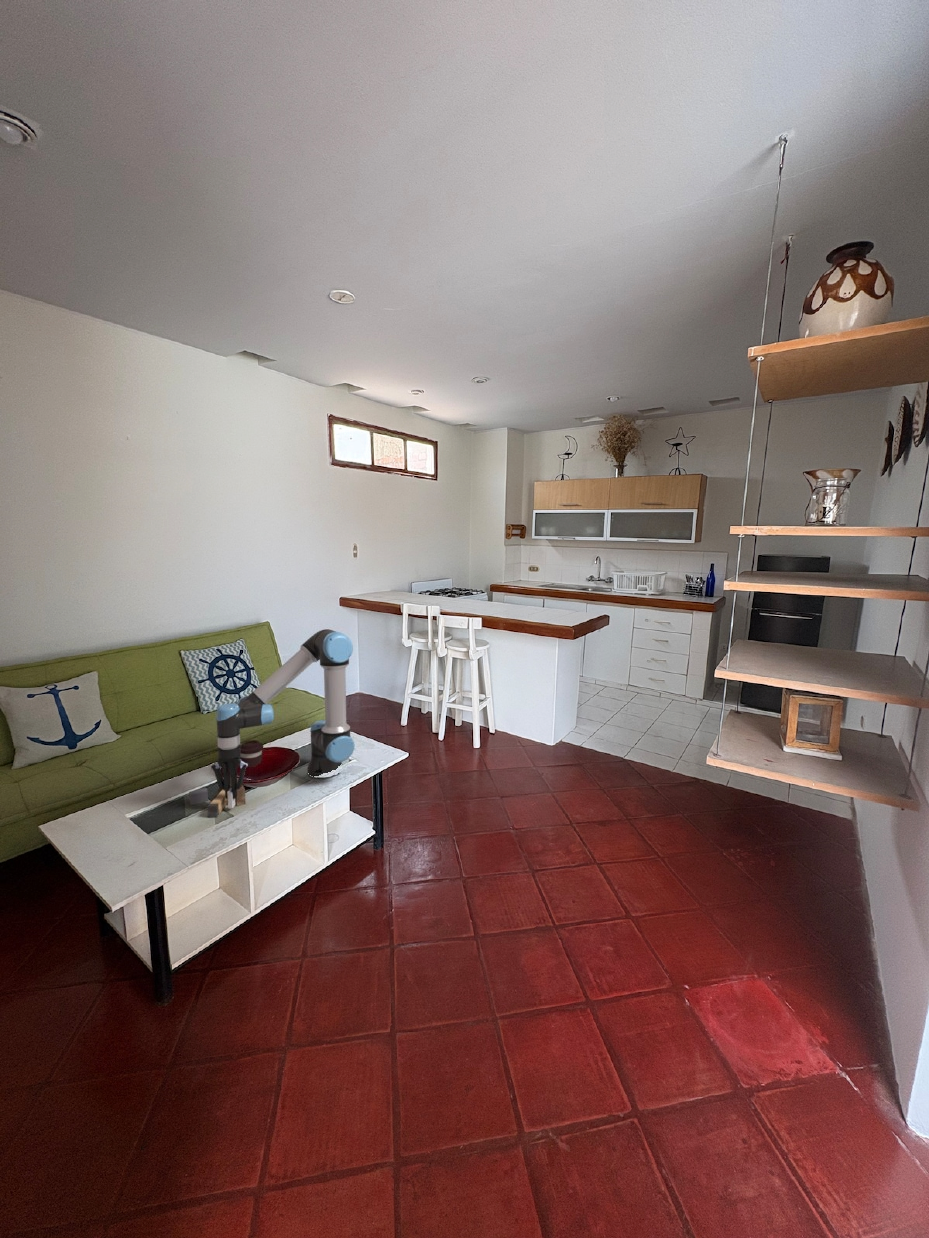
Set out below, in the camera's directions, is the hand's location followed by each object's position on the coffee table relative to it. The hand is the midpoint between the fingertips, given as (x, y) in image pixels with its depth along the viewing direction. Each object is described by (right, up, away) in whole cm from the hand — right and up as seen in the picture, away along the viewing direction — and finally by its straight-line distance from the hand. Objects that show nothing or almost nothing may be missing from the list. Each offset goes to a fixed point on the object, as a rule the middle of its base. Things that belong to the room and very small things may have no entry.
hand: (231, 806), depth 184 cm
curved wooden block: (-2, 0, +10) cm, 10 cm away
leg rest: (-16, -1, +7) cm, 17 cm away
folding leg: (-5, -1, +3) cm, 6 cm away
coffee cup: (-5, +2, +30) cm, 30 cm away
